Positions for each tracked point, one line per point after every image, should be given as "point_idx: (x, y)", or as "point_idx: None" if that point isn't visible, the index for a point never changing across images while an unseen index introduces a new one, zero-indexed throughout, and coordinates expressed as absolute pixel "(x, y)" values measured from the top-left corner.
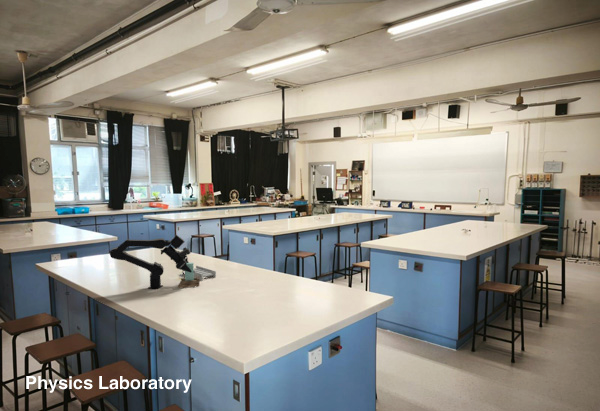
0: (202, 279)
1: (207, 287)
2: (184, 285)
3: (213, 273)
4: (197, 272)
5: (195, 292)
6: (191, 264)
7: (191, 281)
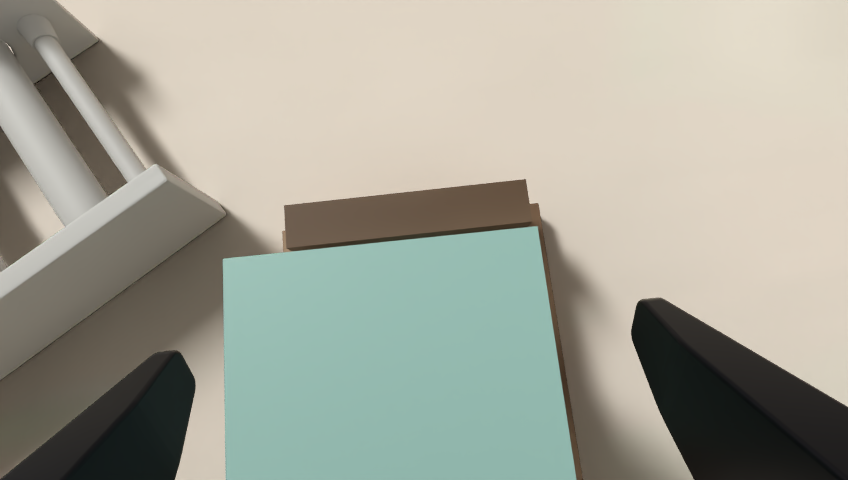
0: (210, 197)
1: (602, 91)
2: (576, 442)
3: (30, 26)
4: (11, 277)
5: (841, 223)
6: (545, 322)
7: None
